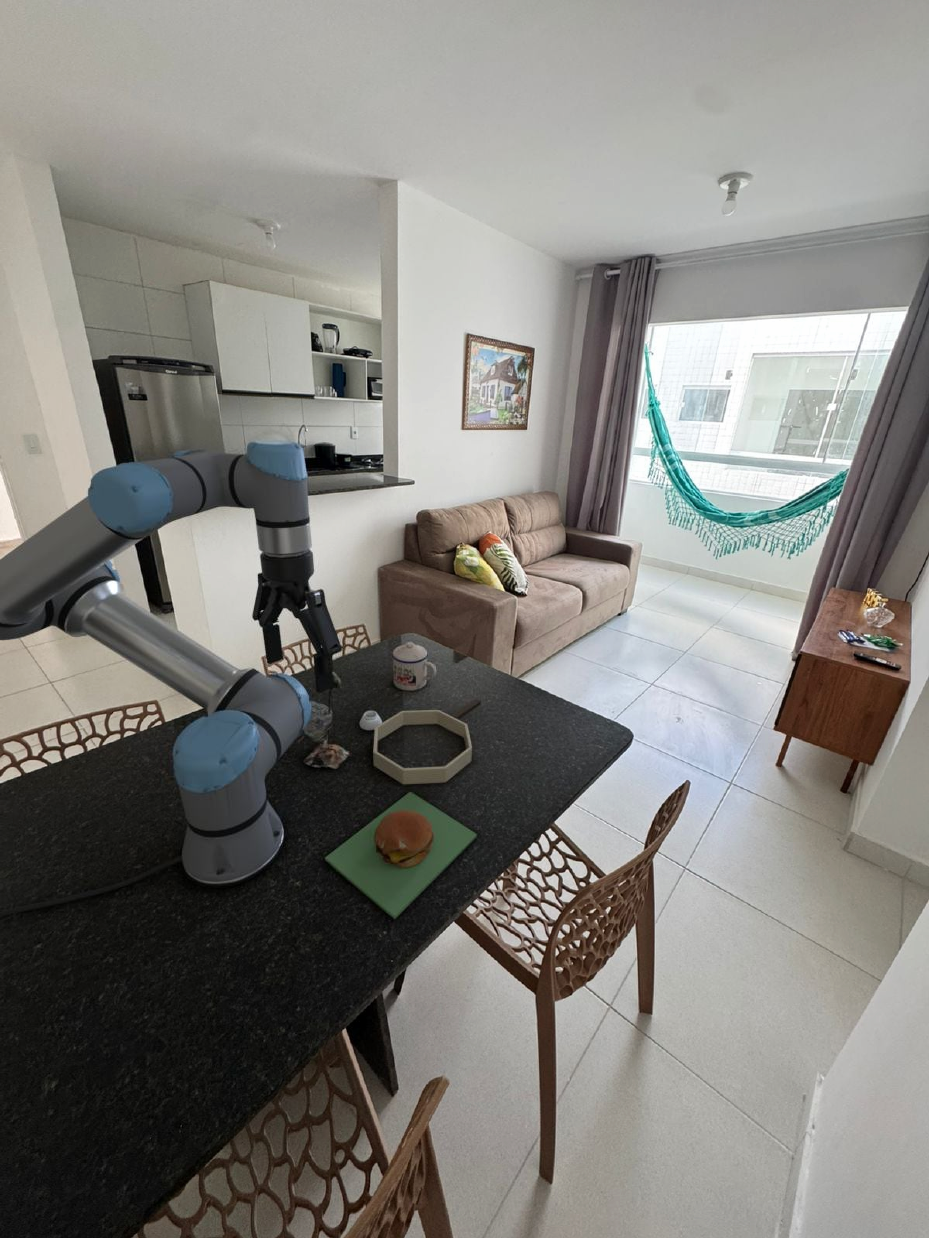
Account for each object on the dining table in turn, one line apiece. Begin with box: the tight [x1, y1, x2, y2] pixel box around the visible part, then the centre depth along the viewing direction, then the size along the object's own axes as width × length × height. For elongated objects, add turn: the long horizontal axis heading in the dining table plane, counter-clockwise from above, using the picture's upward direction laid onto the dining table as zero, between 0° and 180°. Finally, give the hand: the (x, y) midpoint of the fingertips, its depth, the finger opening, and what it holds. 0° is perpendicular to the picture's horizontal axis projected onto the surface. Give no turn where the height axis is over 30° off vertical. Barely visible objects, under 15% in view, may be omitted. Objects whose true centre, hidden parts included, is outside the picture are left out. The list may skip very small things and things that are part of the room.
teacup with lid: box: [391, 641, 437, 692], centre depth 132 cm, size 12×9×12 cm
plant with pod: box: [297, 671, 353, 770], centre depth 102 cm, size 8×11×20 cm
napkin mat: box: [324, 791, 478, 920], centre depth 86 cm, size 20×16×1 cm
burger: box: [374, 810, 434, 868], centre depth 85 cm, size 10×9×5 cm
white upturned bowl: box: [359, 710, 383, 731], centre depth 117 cm, size 5×3×5 cm
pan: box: [372, 698, 482, 785], centre depth 113 cm, size 30×20×4 cm
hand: (298, 674), depth 85 cm, fingers open, 13 cm apart
